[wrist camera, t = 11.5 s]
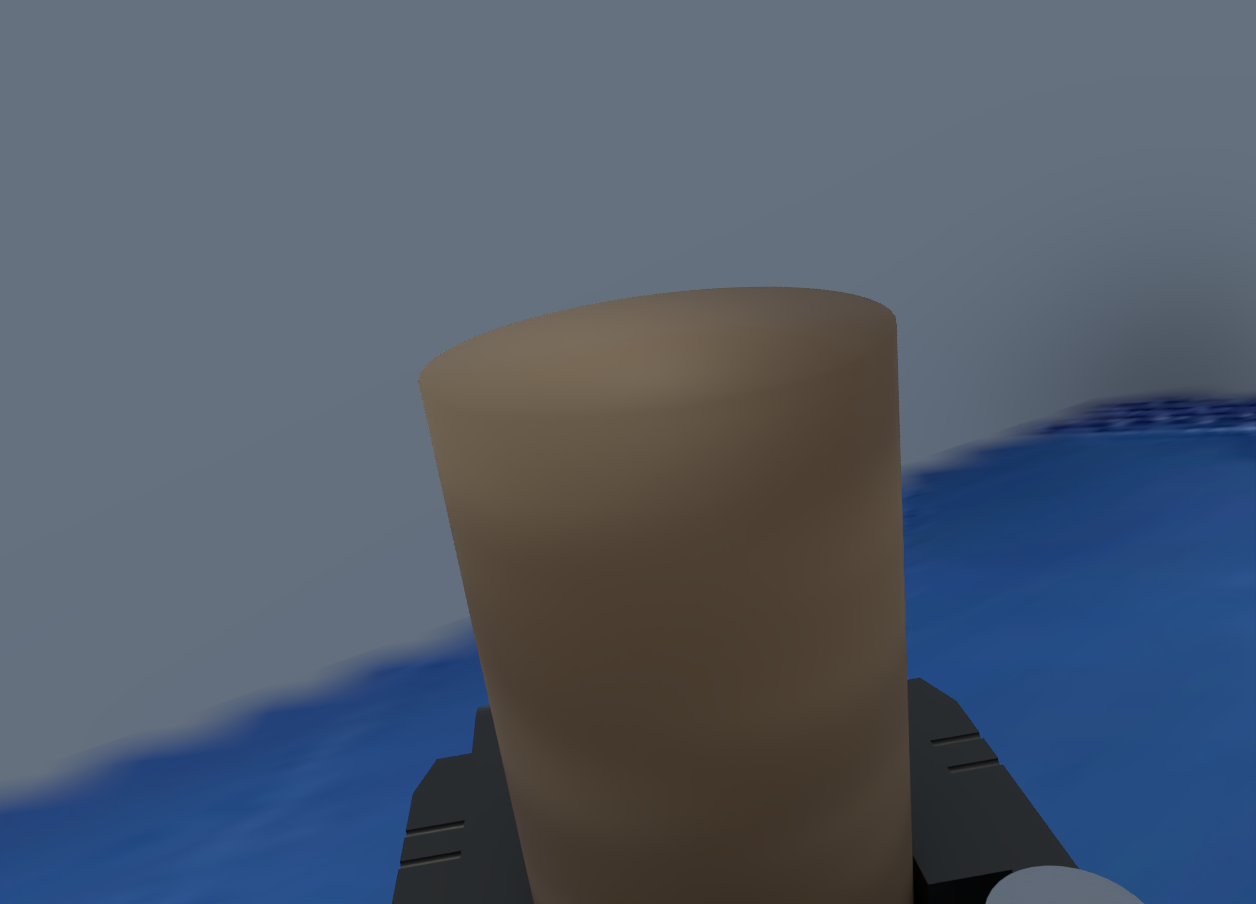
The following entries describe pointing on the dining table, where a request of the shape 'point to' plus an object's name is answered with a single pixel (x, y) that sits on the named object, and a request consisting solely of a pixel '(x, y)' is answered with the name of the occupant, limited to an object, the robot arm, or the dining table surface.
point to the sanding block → (689, 592)
